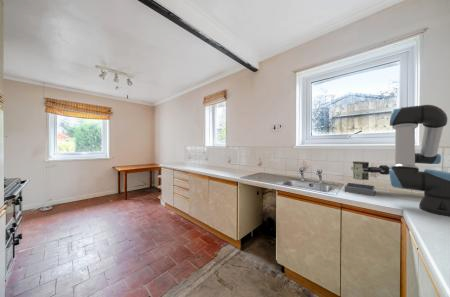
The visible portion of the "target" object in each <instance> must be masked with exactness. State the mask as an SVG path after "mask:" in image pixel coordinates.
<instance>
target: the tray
mask: <svg viewBox="0 0 450 297" xmlns="http://www.w3.org/2000/svg"><path fill="white" fill-rule="evenodd" d="M375 190H376V186H375V185H370V184H363V183H362V184H361V183H355V182H347V183H346V184H345V185H344V192H349V193H353V194H354V193H355V194H362V195H368V196H375V192H376V191H375Z"/></svg>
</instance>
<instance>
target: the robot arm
mask: <svg viewBox="0 0 450 297" xmlns="http://www.w3.org/2000/svg"><path fill="white" fill-rule="evenodd" d="M447 123H448V115H447V114H446V111H444V110H443V109H442V108H440V107H439V106H437V105H434V104H422V105H415V106H414V105H413V106H411V105H410V106H405V107H404V106H402V107H398V108H397V107H396V108H393V109H392V110H391V114H390V120H389V126H391V127H392V129H393V130H395V135H394V136H395V139H394V140H395V141H394V142H395V143H394V144H395V150H394V154H395V155H394V156H395V157H394V160H395V161H394V164H392V165H391V164H390V165H386V164H385V165H383V164H381V165H379V166H369V168H368V169H361V168H358V172H369V173H372V174H373V173H374V174H376V173H377V174H379V175H382V176H383V175H385V176H386V175H387V176H389V180H390V185H391V187H393V188H396V189H402V190H403V189H405V190H411V191H419V192H424V193H423V197H422V198H421V200H420V202H419V206H418V207H419V209H421V210H423V211H425V212H428V213H433V214H436V215H442V216H448V217H450V172H448V171H443V170H435V169H427V168H425V169H424V171H422V170H421V171H420V168H419V167H418V166H416V164H425V165H439V164H441V162H442V156H441V154H440V153H438V152H439V147H440V142H441V138H442V133H443V129H444V128H445V127H446V126H447ZM419 124H421V125H422V126H423V127H424V129H423V134H422V135H423V136H422V140H421V147H420V148H421V149H420V152H419V153H416V146H415V145H416V138H415V137H416V136H415V134H416V133H415V132H416V131H415V129H416V128H418V127H419ZM350 169H351V170H352V171H353V166H351V167H350Z"/></svg>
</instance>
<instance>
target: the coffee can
mask: <svg viewBox="0 0 450 297" xmlns="http://www.w3.org/2000/svg"><path fill="white" fill-rule="evenodd" d="M369 163H370V162H369V161H359V160H358V161H352V167H353V170H352V179H353V180H356V181H357V180H359V181H368V180H370V179H369V177H370V176H369V174H370V172H358V168H361V169H368V168H369V167H370V164H369Z"/></svg>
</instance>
